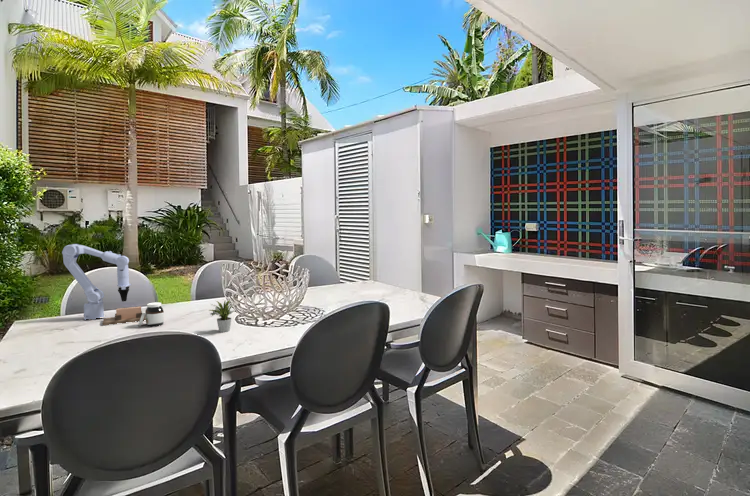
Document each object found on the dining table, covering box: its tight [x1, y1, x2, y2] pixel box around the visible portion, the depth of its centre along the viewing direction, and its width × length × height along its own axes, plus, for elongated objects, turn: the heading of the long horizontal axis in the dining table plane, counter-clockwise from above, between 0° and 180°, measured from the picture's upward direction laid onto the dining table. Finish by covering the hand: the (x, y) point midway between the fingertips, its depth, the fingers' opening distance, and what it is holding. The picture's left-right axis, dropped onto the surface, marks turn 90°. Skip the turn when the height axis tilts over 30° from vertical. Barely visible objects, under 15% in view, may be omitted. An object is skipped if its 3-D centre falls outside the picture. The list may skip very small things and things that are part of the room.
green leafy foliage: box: [213, 299, 235, 315], centre depth 269 cm, size 34×5×10 cm
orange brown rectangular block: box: [115, 306, 142, 319], centre depth 236 cm, size 12×3×6 cm, turn 120°
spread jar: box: [137, 301, 165, 327], centre depth 225 cm, size 12×11×12 cm
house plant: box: [208, 300, 234, 333], centre depth 215 cm, size 14×14×16 cm
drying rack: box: [102, 310, 146, 326], centre depth 236 cm, size 24×12×4 cm, turn 120°
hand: (124, 300), depth 245 cm, fingers open, 7 cm apart
